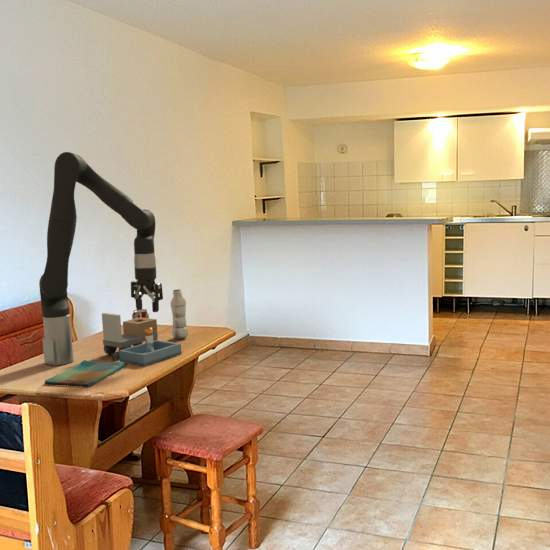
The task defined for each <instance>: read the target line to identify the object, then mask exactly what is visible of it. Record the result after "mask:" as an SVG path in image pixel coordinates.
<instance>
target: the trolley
mask: <svg viewBox="0 0 550 550" xmlns="http://www.w3.org/2000/svg"><path fill="white" fill-rule="evenodd" d="M101 321H102V322H101V323H102V335H103V336H102V337H103V339H102V344H103V351H104V353H105V354H107V355H112V360H113V359H114V361H120V357H119V351H120V350H123V349H127V348H130V347H134V346H137V345H141V344H143V342H145V343H146V336H145V328H148V327H152V330H153V341H154V340H158V337H159V335H158V323H157V321H158V320H157V319H156V318H150V317H149V318H142V317H140V318H136V319H128V320H125V321H122V323H121V314H117V313H110V312H109V313H108V312H102V313H101ZM122 329H123V333H122ZM117 348H118V351H117Z"/></svg>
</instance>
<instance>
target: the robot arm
mask: <svg viewBox="0 0 550 550" xmlns="http://www.w3.org/2000/svg"><path fill="white" fill-rule="evenodd" d="M53 167H54V170H53V171H54V173H53V175H54V176H53V179H54V180H53V192H52V199H51V205H50V210H49V211H50V212H49V217H48V224H47V232H46V250H47V253H46V254H47V256H46V264H45V268H44V272H43V274H42V275H41V276H40V278H39V281H38V282H39V295H40V302H41V303H40V304H41V312H42V313H41V314H42V322H43V334H44V335H43V336H44V337H42V348H43V349H42V350H43V359H44V360H43V361H44V364H45V365H50V366H53V367H54V366H60V365H67V364H69V363H70V364H71V363H72V362H74V360H75V359H74V349H73V347H74V346H73V334H72V326H71V325H72V324H71V314H70V312H71V310H70V304H69V298H68V287H69V283H68V280H69V279H68V277H69V260H70V256H71V252H72V249H73V245H74V240H75V233H76V227H77V220H78V219H77V218H78V217H77V207H76V201H75V200H76V199H75V190H76V184H77V183H78V184H80V185H82V186H83V187H85V188H87V189H88V190H90V191H91V192H92V193H93V194H94V195H96V196H97V198H98V199H99V200H100V201H101V202H102V203H103V204H104V205H106V206H107V207H108V208H110V209H111V210H112V211H114V212H115V213H116V214H118V215H120V217H121V218H122V219H123V220H124V221H125V222H126V223H127V224H128V225H129V226H130V227H132V228H133V229H136V236H135V238H134V240H133V250H134V255H133V256H134V258H133V263H134V264H133V265H134V267H133V268H134V280H133V281H132V280H131V281H130V297H131V298H133V299H134V300H135V308H136V309H135V310H142V309H143V299H142V298H143V296H144V295H147V296H148V297H149V298H150V299H151V308H152V309H151V311H152V312H153V313H158V312H159V310H160V307H159V306H160V304H159V303H160V301H162V300H164V294H163V285H162V283H161V282H157V283H156V281H155V280H156V279H157V263H156V262H157V261H156V260H157V259H156V255H155V242H154V241H155V240H154V239H155V233H156V218H155V214H154V213H153V211H151V210H149V209H142V208H140V207H139V206H137V204H135V203H134V201H133V199H132V198H131V197H130V196H128V195H127V194H125V192H123V191H121V190H120V189H119V188H117V187H116V186H115V185H113V184H112V183H110V182H108V181H107V180H106V179H105V178H103V177H102V176H101V175H100V174H99V173H97V172H96V171H95V169H93V167H92V166H90V165H89V164H88V162H86V160H85V159H84V158H83V157H82V156H81V155H78V154H76V153H73V152H70V151H64V152H62V153H60V154H59V155H58V156H57V158H56V159H55V162H54V166H53Z"/></svg>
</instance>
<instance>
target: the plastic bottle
mask: <svg viewBox="0 0 550 550" xmlns="http://www.w3.org/2000/svg"><path fill="white" fill-rule="evenodd" d="M172 295H173V297H172V298H171V300H170V303H169V304H170V309H171V316H172V329H171V334H172V335H171V336H172V337H173V338H174V339H175V340H182V338H183V339H186V338H187V337H188V336H189V330H188V326H187V325H188V324H187V320H186V319H187V317H186V313H187V301H186V299H185V298H184V296H183V290H182V289H179V288H178V289H173V290H172Z"/></svg>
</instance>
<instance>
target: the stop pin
mask: <svg viewBox="0 0 550 550" xmlns="http://www.w3.org/2000/svg"><path fill="white" fill-rule="evenodd" d="M145 336H146V341H145V342H146V348H147V353H149V352H152V351H154V344H153V330H152V327H148V328H145Z"/></svg>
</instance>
